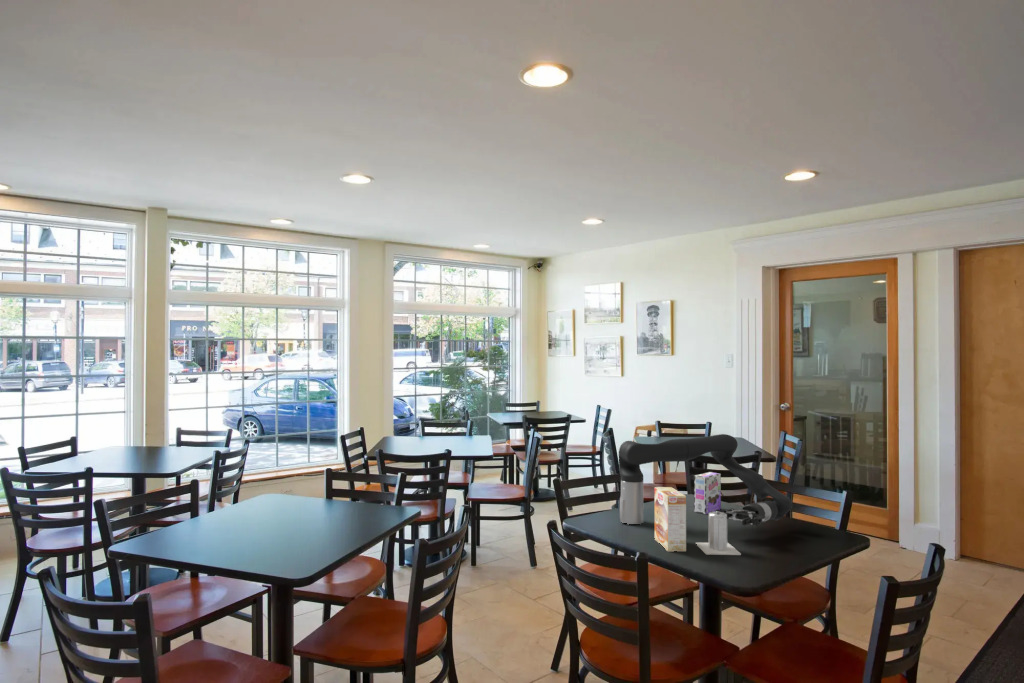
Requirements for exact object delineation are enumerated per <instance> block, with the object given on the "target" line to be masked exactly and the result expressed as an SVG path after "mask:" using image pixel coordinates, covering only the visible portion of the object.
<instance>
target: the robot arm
mask: <svg viewBox="0 0 1024 683" xmlns="http://www.w3.org/2000/svg"><path fill="white" fill-rule="evenodd" d="M738 445H739V443H738V441H737V439H736V438H735V437H734V436H732V435H730V434H724V433H720V434H714V435H709V436H702V437H693V438H675V439H667V440H664V441H661V442H659V443H658V442H657V443H639V442H636V441H632V440H626V441H624V442H623V443H621V445H620V447H619V449H618V471H619V476H620V497H619V521H620V523H621V522H622V523H627V524H626V525H629V524H640V523H643V524H644V474H643V472H642V470H641V467H640V465H644V464H645V465H646V464H650V463H656V462H665V463H666V462H671V463H672V462H685V461H691V460H694V459H696V458H698V457H700V456H703V455H705V454H707V453H710V454H711V456H712V458H713V459H714V460H715V461H716V462H718V463H719V464H720V465H721V466H723V467H724V468H725V469H726V470H727V471H728V472H730V473H732V474H733V475H734V476H735V477H737V478H738V479H739V480H740V481H741V482H742V483H744V484H745V486H747V488H748V489H749V490H750V491H752V493H753V494H754V495H755V496H756V497H757V498H758V500H763V501H758V502H753V503H749V504H745V505H744V506H743V507H742V508H741V509H736V510H735V509H734V508H729V509H723V510H722V513H726V514H727V520H732V521H741V522H742V523H741V524H742V526H747V525H749V526H760V525H763V524H765V523H766V521H769V520H771V521H772V520H773V521H779V520H782V518H784V516H786V514H787V513H789V512H790V511H791V509H792V508H793V502H792V500H791V499H790V497H789V496H787V494H784V493H783V492H781V491H779V490H778V489H777V488H775V487H774V486H772V485H771V484H769V483H768V481H767V480H766V479H765V478H764V477H763V476H762V475H761V474H759V472H757V471H755V470H753V469H751V468H748V467H745V466H743V465H741V464H740V463H738V461H736V459H735V458H734V457H733V455H734V454H735V453H736V451H737V449H738ZM767 497H771V498H772V500H764V499H766V498H767ZM622 523H621V524H622ZM640 525H641V524H640Z"/></svg>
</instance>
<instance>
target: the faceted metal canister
mask: <svg viewBox="0 0 1024 683" xmlns="http://www.w3.org/2000/svg"><path fill="white" fill-rule="evenodd" d="M707 515H708V516H707V518H708V525H707V526H708V527H707V528H708V530H707V531H708V532H707V534H708V535H707V536H708V537H707V538H708V540H707V541H708V542H707V543H708V547H709V548H710V549H713V550H718V551H724V550H727V543H728V519H727V514H726V513H723V511H722V512H721V511H720V510H717V511H714V512H709V513H708V514H707Z"/></svg>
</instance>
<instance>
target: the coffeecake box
mask: <svg viewBox="0 0 1024 683" xmlns="http://www.w3.org/2000/svg"><path fill="white" fill-rule="evenodd" d="M654 538H655V539H654ZM654 538H653V539H654V541H655V542H657V543H658V544H659V543H660V544H661V545H662V546H663V547H664V548H665V549H664V550H666V552H668V553H672V552H673V553H675V552H674V551H677V552H687V495H685V494H683V493H682V492H680V491H678V490H677V489H675V488H673V487H672V486H656V487H655V486H654ZM660 544H659V545H660ZM661 545H660V546H661ZM662 546H661V547H662ZM663 547H662V548H663Z"/></svg>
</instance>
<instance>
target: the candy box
mask: <svg viewBox="0 0 1024 683" xmlns="http://www.w3.org/2000/svg"><path fill="white" fill-rule="evenodd" d="M721 475H722V474H721V473H717V472H713V471H708V472H704V473H700V474H695V475H694V477H693V478H694V482H693V484H694V485H693V486H694V487H693V488H694V489H693V490H694V491H693V492H694V493H693V497H694V501H693V502H694V504H693V512H694V513H698V514H702V515H708V514H709V512H716V511H720V509H721V510H722V503H721V502H722V493H721V492H722V489H721V488H722V486H721V485H722V484H721V483H722V481H721V480H722V479H721V478H722V477H721Z"/></svg>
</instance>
